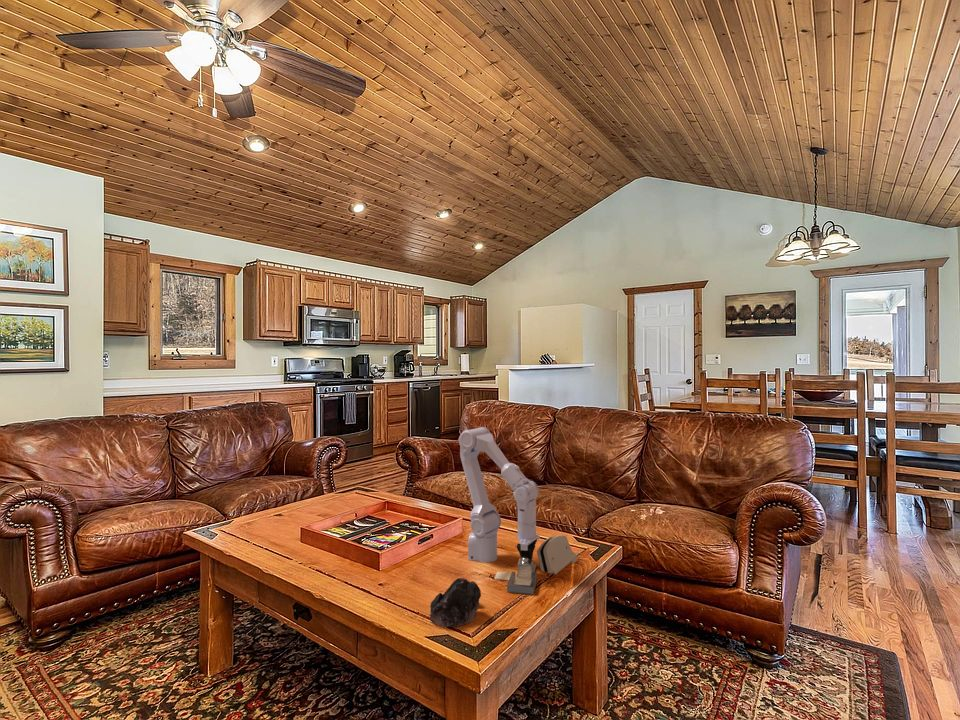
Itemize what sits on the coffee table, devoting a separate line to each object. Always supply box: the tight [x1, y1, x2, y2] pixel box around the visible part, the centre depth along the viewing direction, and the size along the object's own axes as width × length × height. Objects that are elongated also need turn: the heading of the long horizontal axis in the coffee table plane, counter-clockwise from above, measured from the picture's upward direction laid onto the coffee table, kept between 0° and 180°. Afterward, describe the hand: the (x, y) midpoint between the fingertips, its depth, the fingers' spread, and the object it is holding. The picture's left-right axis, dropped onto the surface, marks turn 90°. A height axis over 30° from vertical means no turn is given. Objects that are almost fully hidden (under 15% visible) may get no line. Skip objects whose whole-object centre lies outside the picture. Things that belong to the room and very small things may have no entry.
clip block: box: [517, 556, 533, 578], centre depth 149 cm, size 4×4×5 cm
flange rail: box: [506, 563, 538, 596], centre depth 148 cm, size 8×19×3 cm, turn 167°
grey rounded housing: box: [536, 535, 579, 575], centre depth 159 cm, size 17×5×10 cm, turn 145°
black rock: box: [429, 577, 482, 628], centre depth 130 cm, size 13×14×10 cm
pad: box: [493, 571, 512, 581], centre depth 150 cm, size 5×5×1 cm
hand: (527, 564), depth 154 cm, fingers open, 3 cm apart
